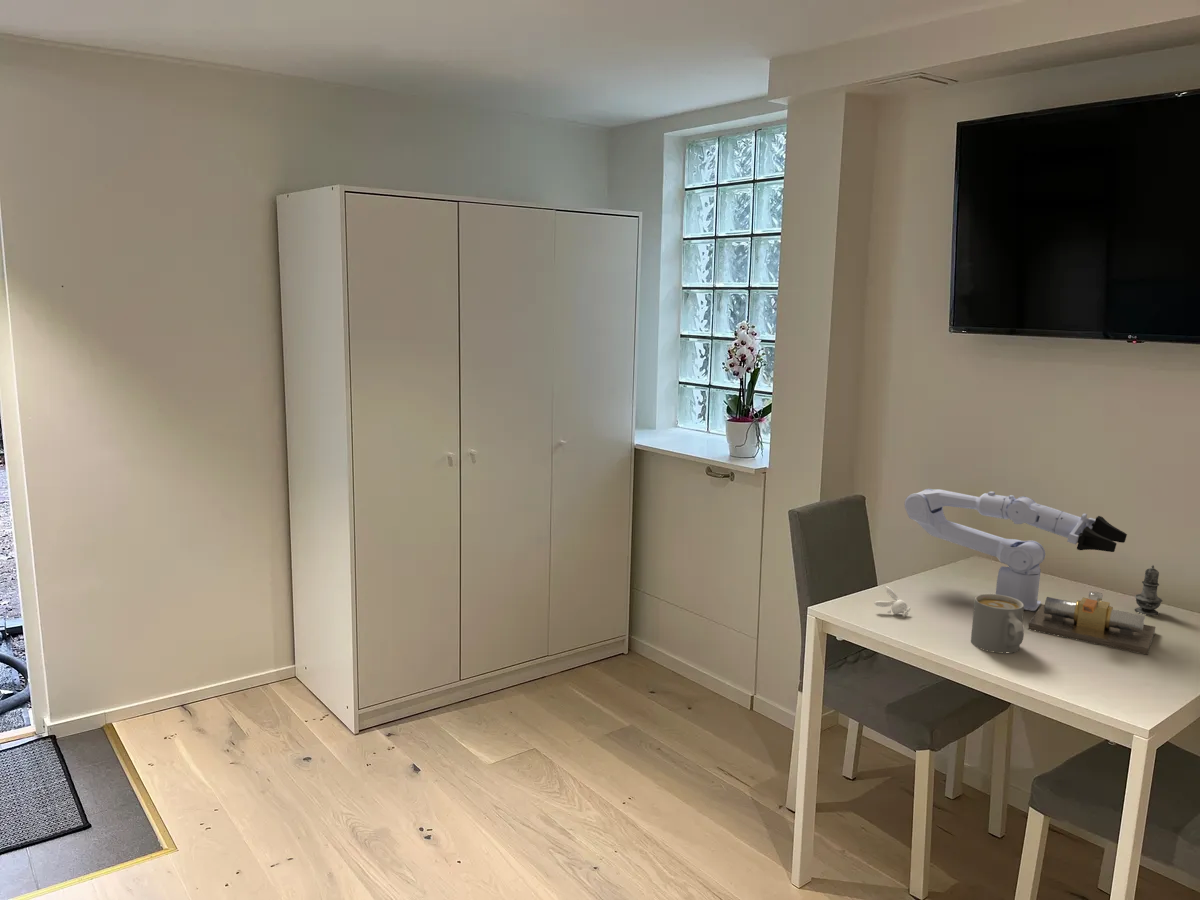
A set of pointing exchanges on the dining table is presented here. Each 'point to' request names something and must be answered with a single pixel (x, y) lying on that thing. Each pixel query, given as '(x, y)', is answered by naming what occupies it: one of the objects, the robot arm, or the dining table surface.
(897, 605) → the rabbit figurine
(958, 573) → the dining table surface
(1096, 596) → the valve lever
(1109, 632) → the valve manifold
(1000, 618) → the coffee mug
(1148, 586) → the salt shaker
